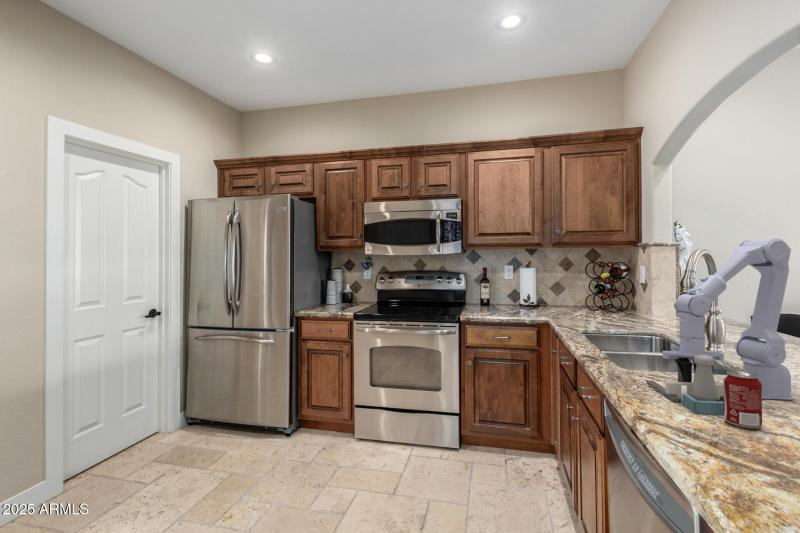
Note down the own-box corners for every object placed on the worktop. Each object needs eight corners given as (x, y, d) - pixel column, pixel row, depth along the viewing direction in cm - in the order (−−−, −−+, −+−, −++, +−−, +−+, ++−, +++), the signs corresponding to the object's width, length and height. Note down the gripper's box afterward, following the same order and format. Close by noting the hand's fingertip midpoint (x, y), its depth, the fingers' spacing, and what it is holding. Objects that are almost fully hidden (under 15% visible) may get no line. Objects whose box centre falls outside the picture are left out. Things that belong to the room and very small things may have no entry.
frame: (732, 405, 102) (732, 387, 102) (751, 416, 95) (750, 396, 95) (680, 403, 105) (680, 385, 104) (695, 413, 98) (695, 394, 98)
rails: (700, 385, 119) (700, 382, 119) (737, 405, 102) (737, 401, 102) (646, 383, 122) (646, 380, 122) (673, 402, 105) (673, 399, 105)
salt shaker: (723, 408, 101) (722, 358, 100) (698, 407, 102) (697, 357, 102) (710, 400, 106) (709, 353, 106) (686, 399, 108) (686, 352, 107)
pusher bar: (710, 389, 114) (710, 363, 114) (729, 399, 106) (729, 372, 105) (654, 387, 117) (654, 362, 117) (668, 397, 108) (667, 370, 108)
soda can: (765, 433, 86) (765, 379, 86) (726, 426, 90) (725, 375, 90) (758, 422, 92) (757, 371, 92) (721, 416, 95) (720, 368, 95)
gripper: (712, 334, 112) (713, 381, 112) (657, 333, 115) (657, 379, 115) (728, 339, 105) (728, 389, 105) (668, 338, 108) (669, 386, 108)
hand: (692, 384), depth 110 cm, fingers closed on pusher bar, 2 cm apart
